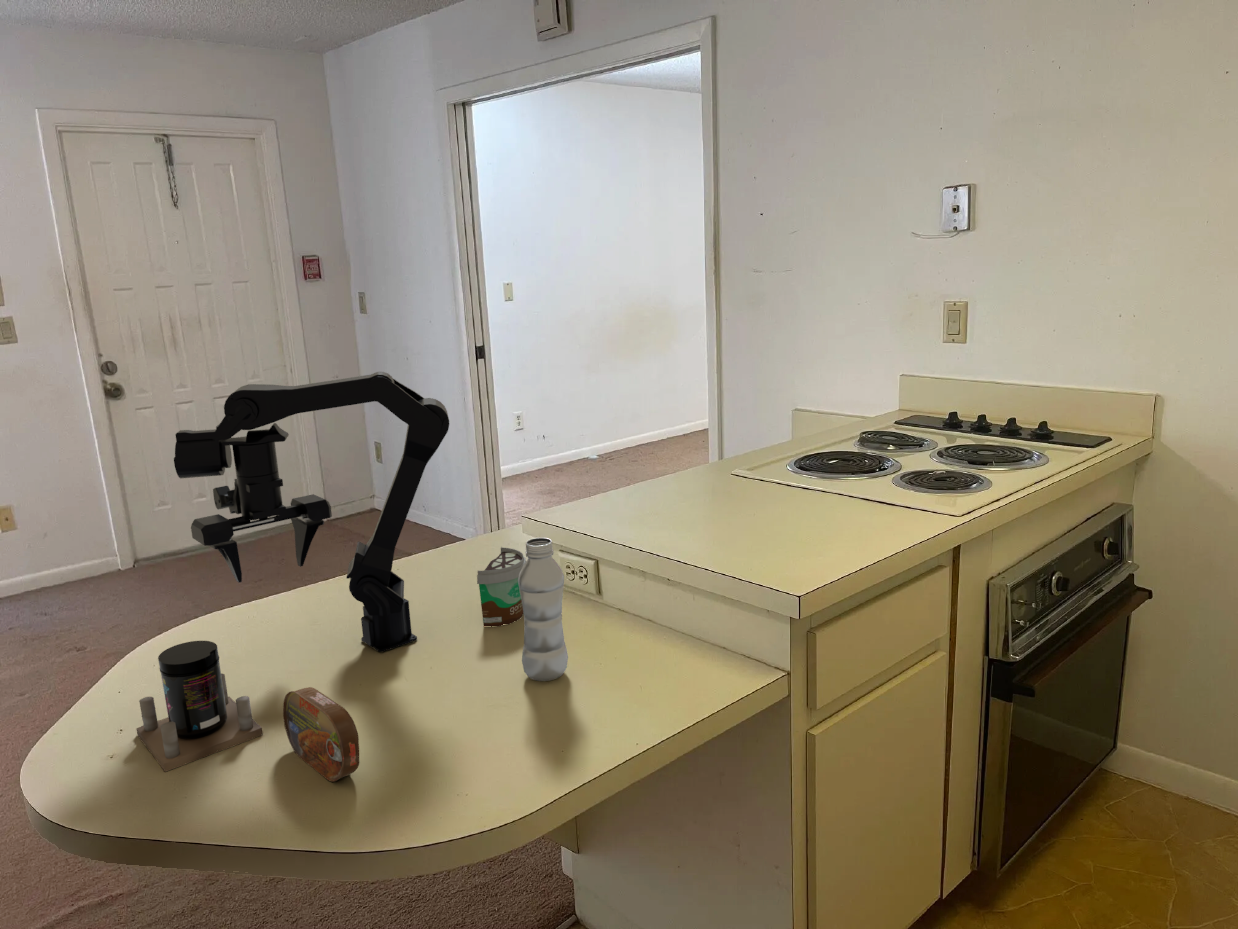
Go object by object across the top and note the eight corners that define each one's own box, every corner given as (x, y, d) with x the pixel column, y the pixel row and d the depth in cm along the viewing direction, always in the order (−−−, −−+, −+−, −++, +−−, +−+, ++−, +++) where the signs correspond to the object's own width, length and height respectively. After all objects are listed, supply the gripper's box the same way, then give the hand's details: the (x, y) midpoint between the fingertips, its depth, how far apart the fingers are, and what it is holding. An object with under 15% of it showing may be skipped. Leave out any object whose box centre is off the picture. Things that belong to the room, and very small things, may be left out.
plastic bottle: (513, 681, 125) (505, 546, 120) (539, 661, 131) (532, 532, 126) (552, 690, 122) (545, 552, 117) (577, 670, 128) (571, 537, 123)
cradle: (230, 703, 121) (225, 669, 120) (262, 734, 113) (257, 699, 112) (137, 735, 114) (131, 699, 113) (165, 772, 105) (158, 734, 104)
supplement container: (208, 709, 118) (196, 636, 115) (239, 722, 114) (228, 647, 112) (159, 732, 112) (146, 657, 110) (191, 747, 109) (178, 669, 106)
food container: (517, 633, 141) (513, 573, 139) (480, 630, 142) (476, 571, 140) (539, 603, 153) (536, 547, 150) (505, 601, 154) (501, 546, 151)
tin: (284, 745, 111) (276, 683, 109) (308, 735, 113) (300, 674, 111) (343, 794, 100) (335, 726, 98) (368, 782, 102) (361, 716, 100)
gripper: (296, 453, 141) (307, 546, 145) (171, 475, 129) (187, 577, 133) (327, 464, 133) (338, 562, 137) (197, 488, 121) (213, 596, 125)
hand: (270, 573), depth 133 cm, fingers open, 9 cm apart
